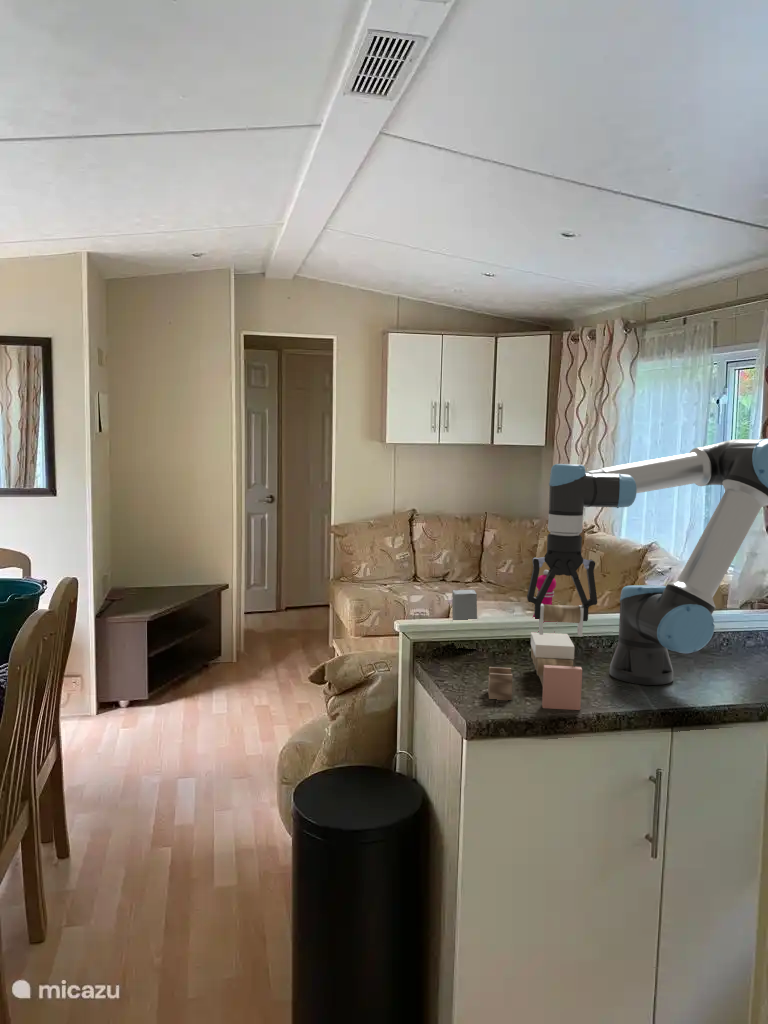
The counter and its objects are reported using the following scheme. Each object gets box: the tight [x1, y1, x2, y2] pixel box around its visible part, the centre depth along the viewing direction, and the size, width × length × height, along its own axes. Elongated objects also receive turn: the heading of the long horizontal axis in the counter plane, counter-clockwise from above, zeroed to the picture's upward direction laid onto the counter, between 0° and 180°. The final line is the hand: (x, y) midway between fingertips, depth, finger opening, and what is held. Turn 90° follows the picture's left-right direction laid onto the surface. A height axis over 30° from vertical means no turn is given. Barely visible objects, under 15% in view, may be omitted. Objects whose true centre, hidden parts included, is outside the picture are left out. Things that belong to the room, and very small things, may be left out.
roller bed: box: [530, 645, 574, 687], centre depth 192 cm, size 8×30×7 cm, turn 175°
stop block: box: [541, 665, 583, 711], centre depth 176 cm, size 8×2×9 cm, turn 85°
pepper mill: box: [532, 569, 557, 618], centre depth 243 cm, size 7×7×20 cm
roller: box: [543, 604, 581, 624], centre depth 182 cm, size 8×4×4 cm, turn 84°
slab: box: [530, 631, 576, 660], centre depth 197 cm, size 9×13×3 cm
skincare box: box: [451, 589, 478, 621], centre depth 228 cm, size 8×7×16 cm
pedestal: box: [487, 666, 514, 701], centre depth 184 cm, size 5×6×6 cm
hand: (560, 634), depth 182 cm, fingers closed on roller, 8 cm apart
